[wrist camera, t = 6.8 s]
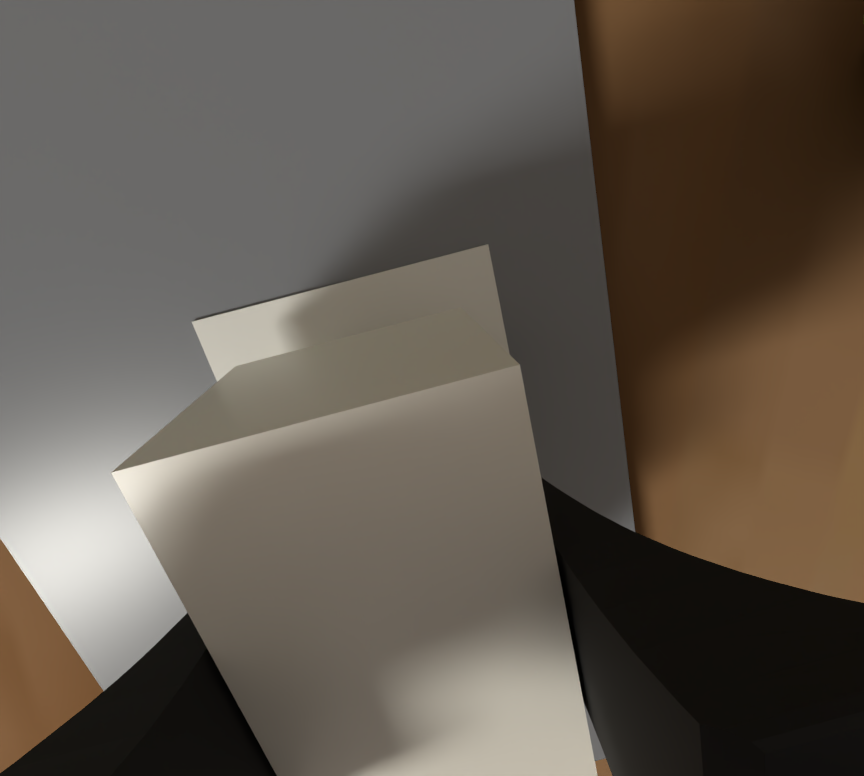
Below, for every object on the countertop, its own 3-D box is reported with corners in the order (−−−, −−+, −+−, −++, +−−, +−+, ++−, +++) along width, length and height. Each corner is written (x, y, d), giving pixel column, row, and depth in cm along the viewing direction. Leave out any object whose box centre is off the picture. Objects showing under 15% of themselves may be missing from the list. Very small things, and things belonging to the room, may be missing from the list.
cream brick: (361, 675, 12) (347, 906, 8) (235, 366, 9) (111, 472, 5) (532, 629, 12) (608, 834, 8) (460, 306, 9) (519, 364, 5)
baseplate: (227, 835, 17) (219, 867, 16) (-525, -333, 7) (-653, -413, 6) (647, 720, 17) (661, 746, 16) (484, -581, 7) (498, -689, 6)
